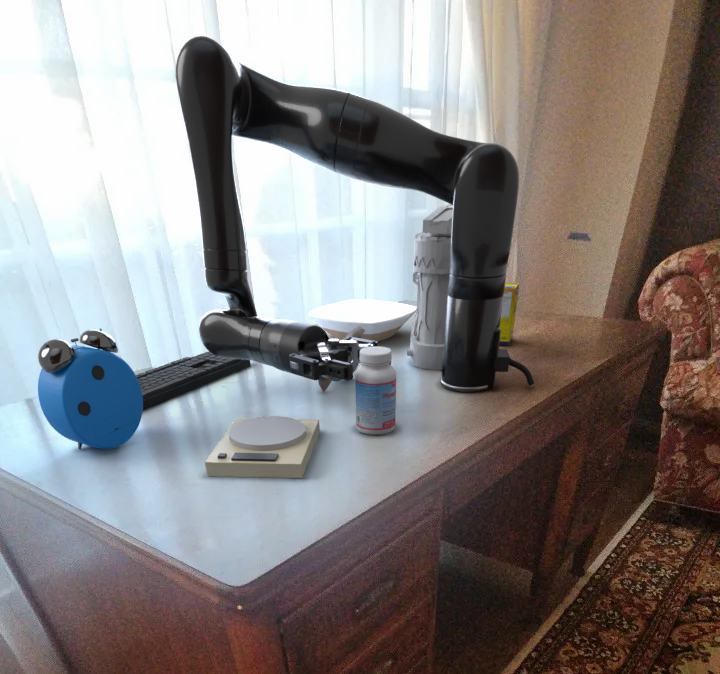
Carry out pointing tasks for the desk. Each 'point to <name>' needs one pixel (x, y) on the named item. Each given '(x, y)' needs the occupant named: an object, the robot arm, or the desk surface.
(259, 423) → the scale
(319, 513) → the desk surface
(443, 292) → the lantern
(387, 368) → the pill bottle
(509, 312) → the supplement box
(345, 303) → the bowl
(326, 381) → the decorative bird
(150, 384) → the keyboard
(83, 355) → the alarm clock
